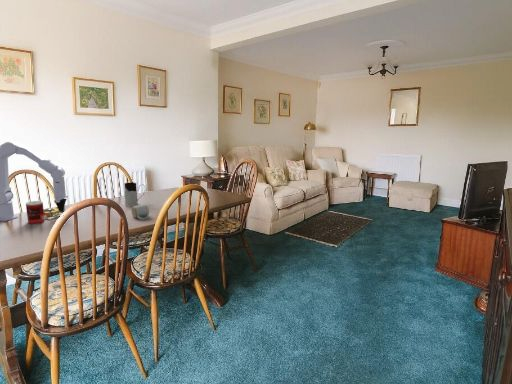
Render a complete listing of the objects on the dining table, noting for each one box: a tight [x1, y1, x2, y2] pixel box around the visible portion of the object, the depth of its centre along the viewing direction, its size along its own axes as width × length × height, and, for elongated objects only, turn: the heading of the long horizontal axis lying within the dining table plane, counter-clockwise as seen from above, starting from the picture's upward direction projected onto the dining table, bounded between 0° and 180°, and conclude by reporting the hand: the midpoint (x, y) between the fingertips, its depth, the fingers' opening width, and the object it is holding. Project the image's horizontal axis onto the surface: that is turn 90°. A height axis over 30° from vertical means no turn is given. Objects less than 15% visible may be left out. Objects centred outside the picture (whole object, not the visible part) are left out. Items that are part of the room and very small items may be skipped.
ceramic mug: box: [131, 203, 150, 221], centre depth 191 cm, size 11×8×8 cm
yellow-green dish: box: [43, 207, 66, 216], centre depth 188 cm, size 13×10×5 cm
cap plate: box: [44, 207, 62, 221], centre depth 188 cm, size 14×14×4 cm
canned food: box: [25, 200, 45, 225], centre depth 175 cm, size 8×8×11 cm
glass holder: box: [123, 181, 146, 208], centre depth 219 cm, size 9×14×15 cm, turn 127°
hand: (61, 211), depth 187 cm, fingers closed
